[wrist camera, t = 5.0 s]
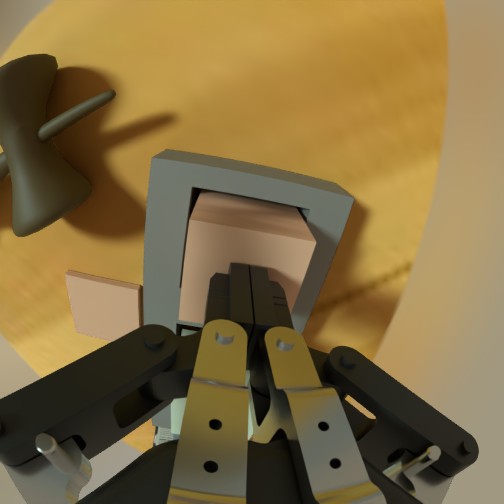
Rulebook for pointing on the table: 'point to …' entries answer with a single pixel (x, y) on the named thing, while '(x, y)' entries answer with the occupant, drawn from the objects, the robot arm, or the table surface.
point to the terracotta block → (242, 245)
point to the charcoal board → (236, 182)
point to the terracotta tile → (103, 305)
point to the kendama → (38, 144)
